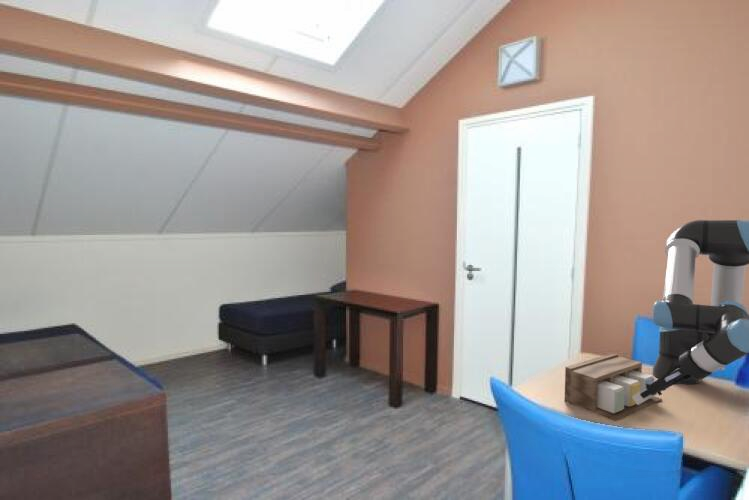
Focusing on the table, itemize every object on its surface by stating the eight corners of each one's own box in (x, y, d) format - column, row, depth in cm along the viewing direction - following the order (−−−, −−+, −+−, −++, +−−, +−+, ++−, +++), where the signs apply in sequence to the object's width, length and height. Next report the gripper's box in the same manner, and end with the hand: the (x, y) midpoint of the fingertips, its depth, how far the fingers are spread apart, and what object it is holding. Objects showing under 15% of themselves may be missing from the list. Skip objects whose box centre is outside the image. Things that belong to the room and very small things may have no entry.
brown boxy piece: (661, 400, 153) (663, 366, 152) (615, 420, 138) (616, 383, 138) (611, 384, 168) (612, 353, 167) (564, 401, 153) (565, 367, 152)
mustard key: (639, 403, 148) (640, 381, 148) (631, 407, 146) (632, 384, 145) (616, 396, 155) (617, 374, 154) (608, 399, 152) (609, 377, 152)
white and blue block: (653, 397, 153) (654, 376, 153) (646, 401, 151) (647, 379, 150) (631, 390, 160) (631, 369, 159) (623, 393, 157) (624, 372, 156)
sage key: (624, 410, 144) (625, 387, 143) (615, 414, 141) (616, 390, 140) (601, 402, 150) (602, 379, 149) (592, 405, 147) (593, 382, 147)
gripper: (701, 377, 117) (632, 416, 132) (723, 369, 124) (655, 407, 139) (679, 352, 121) (615, 393, 136) (702, 345, 128) (638, 384, 143)
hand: (635, 400), depth 138 cm, fingers closed
